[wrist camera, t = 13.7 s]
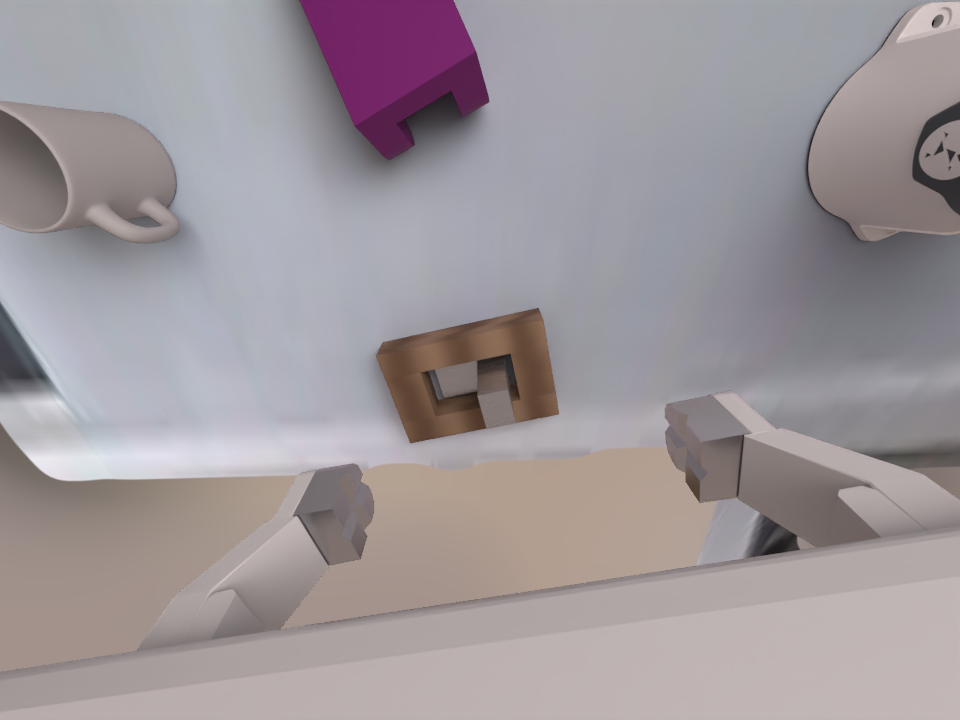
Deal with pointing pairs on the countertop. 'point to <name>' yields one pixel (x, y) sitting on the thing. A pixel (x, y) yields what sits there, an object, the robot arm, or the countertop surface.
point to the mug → (83, 173)
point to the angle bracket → (482, 387)
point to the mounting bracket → (396, 62)
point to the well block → (463, 344)
